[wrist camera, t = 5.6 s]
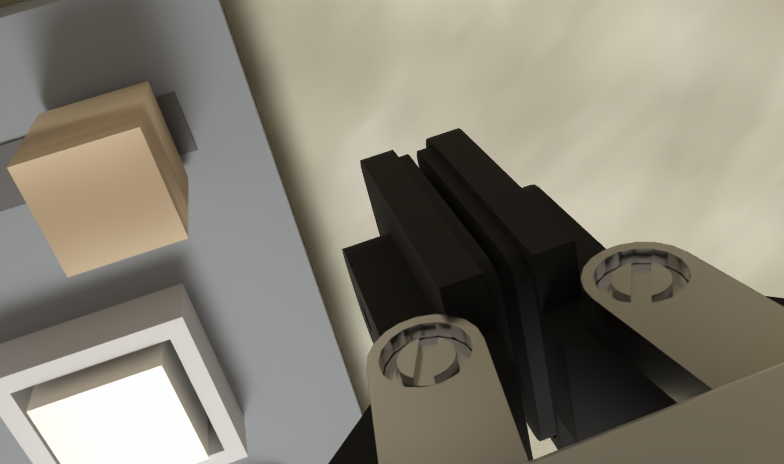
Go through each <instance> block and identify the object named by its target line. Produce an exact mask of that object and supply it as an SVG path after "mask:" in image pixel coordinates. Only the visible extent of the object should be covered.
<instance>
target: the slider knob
mask: <svg viewBox="0 0 784 464" xmlns="http://www.w3.org/2000/svg"><path fill="white" fill-rule="evenodd" d="M7 169H8V171H9V172H10V174H11V176H12V178H13V180H14V182H15V183H16V185H17V187H18V189H19V191H20V192H21V194H22V196H23V198H24V200H25V201H26V203H27V205H28V207H29V209H30V211H31V212H32V214H33V216H34V218H35V220H36V221H37V223H38V225H39V227H40V229H41V230H42V232H43V234H44V236H45V238H46V240H47V241H48V243H49V245H50V247H51V249H52V250H53V252H54V254H55V256H56V258H57V259H58V261H59V263H60V265H61V267H62V268H63V270H64V272H65V274H66V276H67V278H68V277H71V276H74V275H77V274H80V273H83V272H86V271H89V270H92V269H95V268H99V267H102V266H105V265H108V264H111V263H114V262H117V261H120V260H123V259H126V258H129V257H132V256H135V255H138V254H142V253H145V252H148V251H151V250H154V249H157V248H160V247H163V246H166V245H169V244H172V243H175V242H178V241H181V240H185V239H188V175H187V173H186V170H185V168H184V166H183V163H182V161H181V158H180V156H179V154H178V151H177V149H176V146H175V144H174V141H173V139H172V137H171V134H170V132H169V129H168V127H167V125H166V122H165V120H164V117H163V115H162V113H161V110H160V108H159V105H158V103H157V101H156V98H155V96H154V93H153V91H152V89H151V86H150V84H149V81H146V82H142V83H139V84H136V85H132V86H129V87H126V88H122V89H119V90H116V91H112V92H109V93H106V94H103V95H99V96H96V97H93V98H89V99H86V100H83V101H79V102H76V103H73V104H69V105H66V106H63V107H59V108H56V109H53V110H49V111H46V112H43V113H39V114H38V116H37V118H36V119H35V121H34V123H33V125H32V126H31V128H30V130H29V131H28V133H27V135H26V136H25V138H24V140H23V141H22V143H21V145H20V146H19V148H18V150H17V151H16V153H15V155H14V156H13V158H12V160H11V161H10V163H9V165H8V167H7Z"/></svg>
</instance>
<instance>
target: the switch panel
mask: <svg viewBox="0 0 784 464" xmlns="http://www.w3.org/2000/svg"><path fill="white" fill-rule="evenodd" d="M146 81H149V84H150V86H151V89H152V91H153V93H154V96H155V98H156V101H157V103H158V105H159V108H160V110H161V113H162V115H163V117H164V120H165V122H166V125H167V127H168V129H169V132H170V134H171V137H172V139H173V141H174V144H175V146H176V149H177V151H178V154H179V156H180V158H181V161H182V163H183V166H184V168H185V170H186V173H187V175H188V239H185V240H181V241H178V242H175V243H172V244H169V245H166V246H163V247H160V248H157V249H154V250H151V251H148V252H145V253H142V254H138V255H135V256H132V257H129V258H126V259H123V260H120V261H117V262H114V263H111V264H108V265H105V266H102V267H99V268H95V269H92V270H89V271H86V272H83V273H80V274H77V275H74V276H71V277H68V278H67V276H66V274H65V272H64V270H63V268H62V267H61V265H60V263H59V261H58V259H57V258H56V256H55V254H54V252H53V250H52V249H51V247H50V245H49V243H48V241H47V240H46V238H45V236H44V234H43V232H42V230H41V229H40V227H39V225H38V223H37V221H36V220H35V218H34V216H33V214H32V212H31V211H30V209H29V207H28V205H27V203H26V201H25V200H24V198H23V196H22V194H21V192H20V191H19V189H18V187H17V185H16V183H15V182H14V180H13V178H12V176H11V174H10V172H9V171H8V169H7V167H8V165H9V163H10V161H11V160H12V158H13V156H14V155H15V153H16V151H17V150H18V148H19V146H20V145H21V143H22V141H23V140H24V138H25V136H26V135H27V133H28V131H29V130H30V128H31V126H32V125H33V123H34V121H35V119H36V118H37V116H38V114H39V113H43V112H46V111H49V110H53V109H56V108H59V107H63V106H66V105H69V104H73V103H76V102H79V101H83V100H86V99H89V98H93V97H96V96H99V95H103V94H106V93H109V92H112V91H116V90H119V89H122V88H126V87H129V86H132V85H136V84H139V83H142V82H146ZM169 339H170V340H171V342H172V344H173V346H174V348H175V350H176V352H177V354H178V356H179V358H180V360H181V362H182V364H183V366H184V368H185V370H186V373H187V375H188V377H189V379H190V381H191V383H192V385H193V387H194V389H195V391H196V393H197V395H198V397H199V399H200V401H201V403H202V405H203V407H204V409H205V411H206V413H207V415H208V437H209V459H207V460H204V461H202V462H199V463H196V464H328V463H329V462H330V460H331V459H332V458H333V456H334V455H335V453H336V452H337V450H338V449H339V448H340V446H341V445H342V443H343V442H344V441H345V439H346V438H347V436H348V435H349V434H350V432H351V431H352V429H353V428H354V427H355V425H356V424H357V422H358V421H359V420H360V418H361V417H362V415H363V414H362V411H361V408H360V406H359V403H358V400H357V397H356V394H355V391H354V388H353V385H352V382H351V379H350V376H349V374H348V371H347V368H346V365H345V362H344V359H343V356H342V353H341V350H340V347H339V345H338V342H337V339H336V336H335V333H334V330H333V327H332V324H331V321H330V318H329V315H328V313H327V310H326V307H325V304H324V301H323V298H322V295H321V292H320V289H319V286H318V284H317V281H316V278H315V275H314V272H313V269H312V266H311V263H310V260H309V257H308V254H307V252H306V249H305V246H304V243H303V240H302V237H301V234H300V231H299V228H298V225H297V223H296V220H295V217H294V214H293V211H292V208H291V205H290V202H289V199H288V196H287V193H286V191H285V188H284V185H283V182H282V179H281V176H280V173H279V170H278V167H277V164H276V161H275V159H274V156H273V153H272V150H271V147H270V144H269V141H268V138H267V135H266V132H265V130H264V127H263V124H262V121H261V118H260V115H259V112H258V109H257V106H256V103H255V100H254V98H253V95H252V92H251V89H250V86H249V83H248V80H247V77H246V74H245V71H244V69H243V66H242V63H241V60H240V57H239V54H238V51H237V48H236V45H235V42H234V39H233V37H232V34H231V31H230V28H229V25H228V22H227V19H226V16H225V13H224V10H223V8H222V5H221V2H220V0H25V1H21V2H18V3H14V4H11V5H7V6H4V7H0V464H60V462H59V461H58V459H57V458H56V456H55V455H54V453H53V452H52V450H51V449H50V447H49V446H48V444H47V442H46V441H45V439H44V438H43V436H42V435H41V433H40V432H39V430H38V429H37V427H36V426H35V424H34V423H33V421H32V420H31V418H30V417H29V415H28V414H27V412H26V411H27V407H28V404H29V401H30V397H31V394H32V390H33V387H34V385H37V384H40V383H43V382H46V381H49V380H52V379H54V378H57V377H60V376H63V375H66V374H69V373H72V372H75V371H78V370H81V369H84V368H87V367H90V366H93V365H96V364H99V363H102V362H105V361H107V360H110V359H113V358H116V357H119V356H122V355H125V354H128V353H131V352H134V351H137V350H140V349H143V348H146V347H149V346H152V345H155V344H158V343H160V342H163V341H166V340H169Z"/></svg>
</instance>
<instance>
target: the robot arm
mask: <svg viewBox="0 0 784 464" xmlns="http://www.w3.org/2000/svg"><path fill="white" fill-rule="evenodd" d="M417 159H418V164H419V167H418V166H417V165H416V163H415V162H414V161H413V159H412V158H411V157H410V156H409V155H408V154H407V155H404V156H401V157H398V156H397V154H396V153H395V152H394V151H393V150H391V151H388V152H385V153H382V154H379V155H376V156H372V157H369V158H366V159H363V160H361V161H360V163H361V169H362V173H363V177H364V180H365V184H366V187H367V191H368V194H369V198H370V202H371V205H372V209H373V212H374V216H375V220H376V223H377V227H378V230H379V234H380V237H377V238H374V239H371V240H368V241H365V242H362V243H359V244H356V245H353V246H350V247H347V248H344V249H342V250H343V255H344V259H345V262H346V265H347V268H348V272H349V275H350V278H351V281H352V284H353V287H354V291H355V294H356V297H357V300H358V303H359V306H360V309H361V312H362V314H363V317H364V320H365V323H366V326H367V328H368V331H369V334H370V336H371V339H372V341H373V346H372V348H371V350H370V352H369V354H368V356H367V366H366V370H367V378H368V386H369V394H370V401H371V404H370V406H369V407H368V408H367V410H366V411H365V413H364V414H363V415H362V417H361V418H360V420H359V421H358V422H357V424H356V425H355V427H354V428H353V429H352V431H351V432H350V434H349V435H348V436H347V438H346V439H345V441H344V442H343V443H342V445H341V446H340V448H339V449H338V450H337V452H336V453H335V455H334V456H333V458H332V459H331V460H330V462H329V463H328V464H784V298H777V297H769V296H764V295H762V294H760V293H759V292H757V291H755V290H753V289H752V288H750V287H748V286H746V285H745V284H743V283H741V282H739V281H738V280H736V279H734V278H732V277H731V276H729V275H727V274H725V273H724V272H722V271H720V270H718V269H717V268H715V267H713V266H712V265H710V264H708V263H706V262H705V261H703V260H701V259H699V258H698V257H696V256H694V255H692V254H691V253H689V252H687V251H685V250H682V249H680V248H677V247H675V246H673V245H667V244H662V243H657V242H633V243H627V244H620V245H617V246H614V247H611V248H608V249H605V248H604V247H603V246H602V245H601V244H600V243H599V242H598V241H597V240H596V239H595V238H594V237H592V236H591V235H590V234H589V233H588V232H587V231H586V230H585V229H584V228H583V227H582V226H580V225H579V224H578V223H577V222H576V221H575V220H574V219H573V218H572V217H571V216H570V215H569V214H567V213H566V212H565V211H564V210H563V209H562V208H561V207H560V206H559V205H558V204H557V203H556V202H554V201H553V200H552V199H551V198H550V197H549V196H548V195H547V194H546V193H545V192H544V191H542V190H541V189H540V188H539V187H537V186H536V185H529V186H526V187H523V188H521V187H520V186H519V185H518V184H517V183H516V182H515V181H514V180H513V179H512V178H511V177H510V176H509V175H508V174H507V173H506V172H504V171H503V170H502V169H501V168H500V167H499V166H498V165H497V164H496V163H495V162H494V161H493V160H492V159H491V158H490V157H489V156H488V155H487V154H486V153H485V152H484V151H483V150H482V149H481V148H480V147H479V146H478V145H477V144H476V143H475V142H474V141H472V140H471V139H470V138H469V137H468V136H467V135H466V134H465V133H464V132H463V131H462V130H461V129H459V128H458V129H455V130H452V131H449V132H446V133H443V134H440V135H437V136H434V137H430V138H428V139H426V148H425V149H422V150H419V151H417ZM419 168H420V169H419ZM526 422H527V424H528V426H529V427H530V429H531V430H532V432H533V434H534V435H535V437H536V438H537V439H538V440H539V441H542V440H545V439H547V438H551V440H552V441H553V443H554V444H555V446H556V447H557V449H558V450H557V451H554V452H552V453H549V454H547V455H544V456H541V457H539V458H536V459H534V460H533V457H532V451H531V446H530V440H529V435H528V429H527V424H526Z"/></svg>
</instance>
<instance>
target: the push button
mask: <svg viewBox="0 0 784 464" xmlns="http://www.w3.org/2000/svg"><path fill="white" fill-rule="evenodd" d="M26 412H27V414H28V415H29V417H30V418H31V420H32V421H33V423H34V424H35V426H36V427H37V429H38V430H39V432H40V433H41V435H42V436H43V438H44V439H45V441H46V442H47V444H48V446H49V447H50V449H51V450H52V452H53V453H54V455H55V456H56V458H57V459H58V461H59V462H60V464H196V463H199V462H202V461H204V460H207V459H209V437H208V415H207V413H206V411H205V409H204V407H203V405H202V403H201V401H200V399H199V397H198V395H197V393H196V391H195V389H194V387H193V385H192V383H191V381H190V379H189V377H188V375H187V373H186V370H185V368H184V366H183V364H182V362H181V360H180V358H179V356H178V354H177V352H176V350H175V348H174V346H173V344H172V342H171V340H170V339H169V340H166V341H163V342H160V343H158V344H155V345H152V346H149V347H146V348H143V349H140V350H137V351H134V352H131V353H128V354H125V355H122V356H119V357H116V358H113V359H110V360H107V361H105V362H102V363H99V364H96V365H93V366H90V367H87V368H84V369H81V370H78V371H75V372H72V373H69V374H66V375H63V376H60V377H57V378H54V379H52V380H49V381H46V382H43V383H40V384H37V385H34V387H33V390H32V394H31V397H30V401H29V404H28V407H27V411H26Z"/></svg>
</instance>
